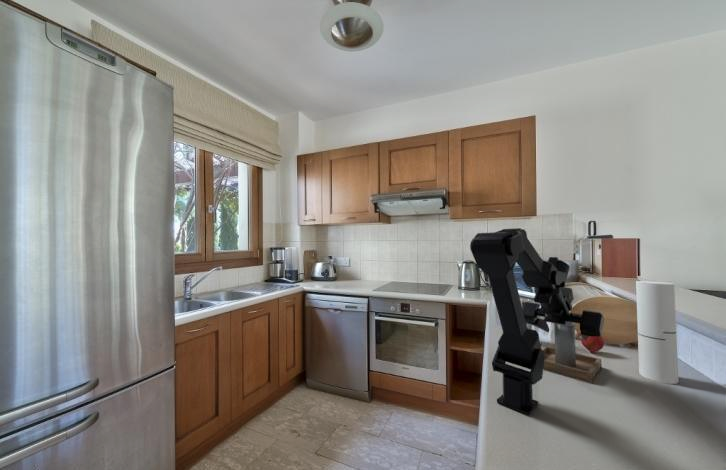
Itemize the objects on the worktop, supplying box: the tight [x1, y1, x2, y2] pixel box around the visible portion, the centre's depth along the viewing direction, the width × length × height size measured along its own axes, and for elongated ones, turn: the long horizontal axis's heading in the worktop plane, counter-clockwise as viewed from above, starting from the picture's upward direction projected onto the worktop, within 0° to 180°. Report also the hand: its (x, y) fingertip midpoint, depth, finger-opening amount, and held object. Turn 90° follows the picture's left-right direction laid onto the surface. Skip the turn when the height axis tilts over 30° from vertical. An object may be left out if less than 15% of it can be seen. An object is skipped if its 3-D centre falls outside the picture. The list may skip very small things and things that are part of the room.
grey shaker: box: [553, 321, 577, 368], centre depth 80 cm, size 5×5×13 cm
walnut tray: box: [541, 345, 602, 385], centre depth 80 cm, size 14×14×2 cm
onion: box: [580, 335, 605, 354], centre depth 91 cm, size 6×6×8 cm
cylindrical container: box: [635, 280, 679, 385], centre depth 75 cm, size 7×7×25 cm
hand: (566, 334), depth 81 cm, fingers open, 9 cm apart
